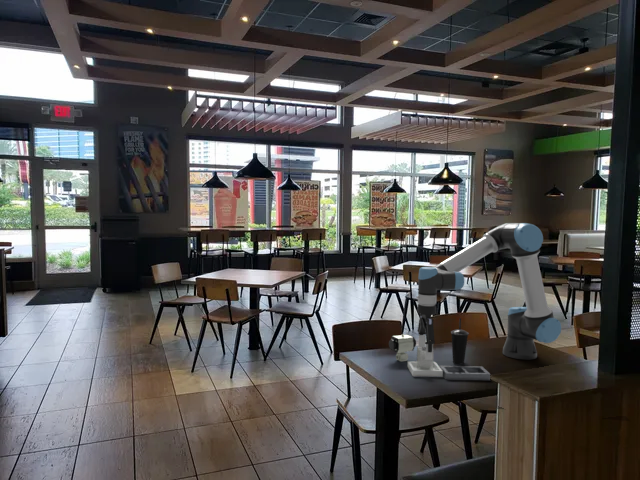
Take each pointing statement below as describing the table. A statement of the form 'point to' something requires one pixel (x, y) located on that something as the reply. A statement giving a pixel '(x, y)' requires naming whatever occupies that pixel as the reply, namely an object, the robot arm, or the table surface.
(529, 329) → the robot arm
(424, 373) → the tray
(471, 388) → the table surface
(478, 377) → the gray divided tray
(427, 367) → the white block
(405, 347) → the pneumatic valve
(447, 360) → the table surface
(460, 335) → the drinking cup
